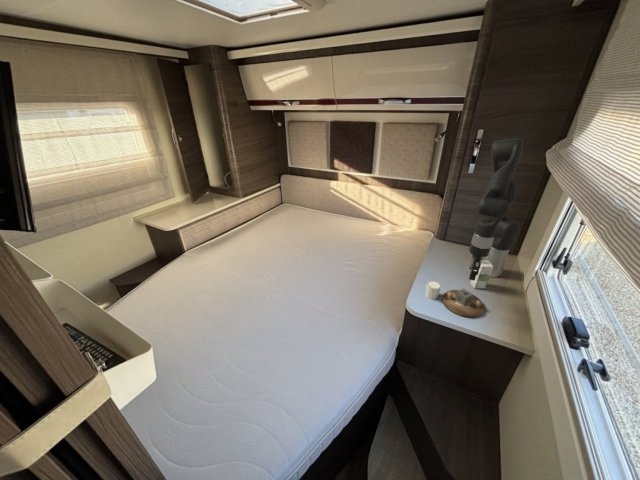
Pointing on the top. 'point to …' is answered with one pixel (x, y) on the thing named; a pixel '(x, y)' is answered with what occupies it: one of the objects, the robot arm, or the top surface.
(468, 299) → the dice cube
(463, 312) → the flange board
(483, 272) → the syrup box
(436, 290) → the white cup
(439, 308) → the top surface
